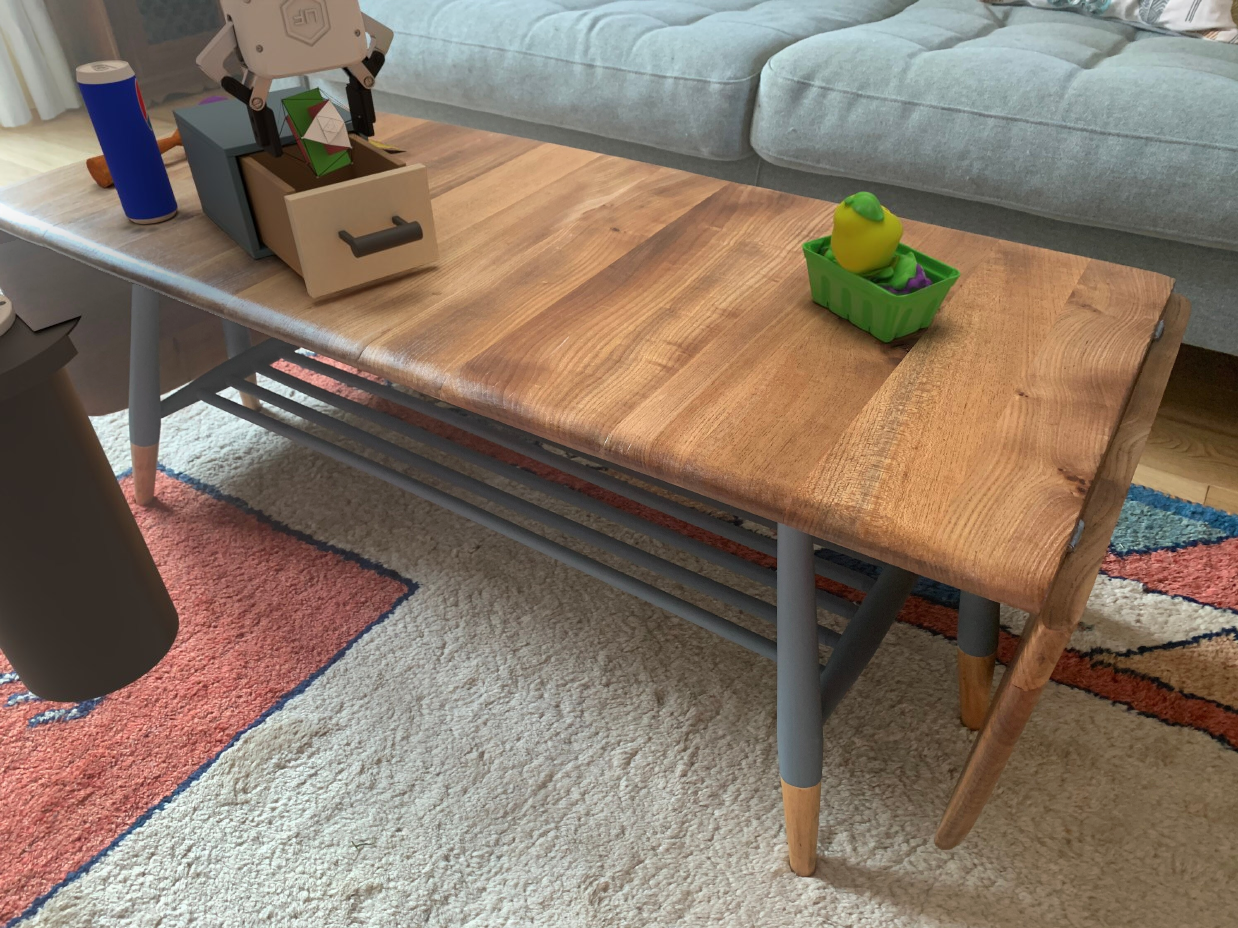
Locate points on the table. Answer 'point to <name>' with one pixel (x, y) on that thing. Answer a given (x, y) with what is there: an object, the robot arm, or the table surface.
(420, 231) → the drawer
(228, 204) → the cabinet
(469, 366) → the table surface
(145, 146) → the beverage can
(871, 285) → the fruit basket
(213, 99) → the kendama
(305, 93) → the geometric puzzle
